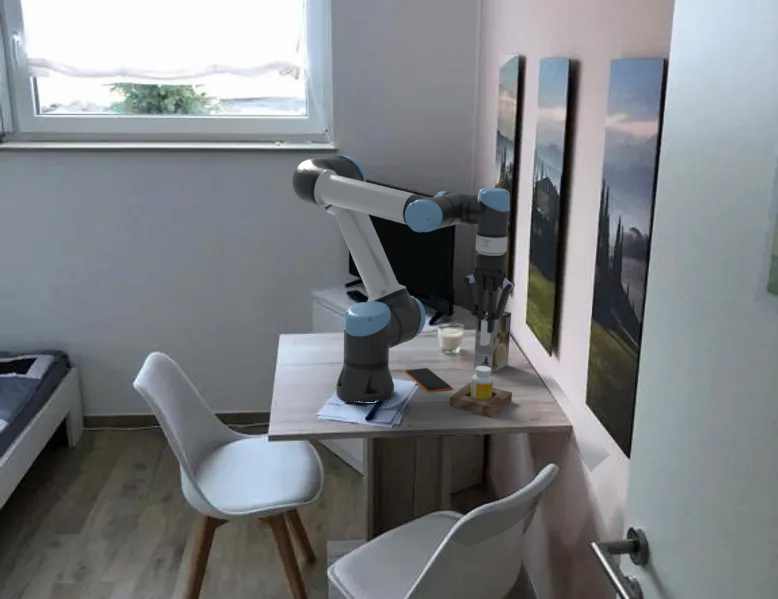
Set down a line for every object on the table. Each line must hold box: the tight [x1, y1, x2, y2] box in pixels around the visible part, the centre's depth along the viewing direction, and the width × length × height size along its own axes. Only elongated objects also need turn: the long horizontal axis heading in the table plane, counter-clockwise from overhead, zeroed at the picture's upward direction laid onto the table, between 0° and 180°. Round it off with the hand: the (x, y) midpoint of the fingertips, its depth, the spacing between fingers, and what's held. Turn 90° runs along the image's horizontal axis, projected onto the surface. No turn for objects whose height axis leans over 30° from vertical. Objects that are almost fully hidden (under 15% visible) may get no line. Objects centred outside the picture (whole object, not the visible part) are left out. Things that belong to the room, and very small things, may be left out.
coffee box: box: [473, 310, 512, 374], centre depth 241 cm, size 9×6×16 cm
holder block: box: [448, 382, 513, 417], centre depth 216 cm, size 12×12×2 cm
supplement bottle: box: [470, 366, 494, 401], centre depth 215 cm, size 5×5×10 cm
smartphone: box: [403, 367, 454, 393], centre depth 232 cm, size 8×17×1 cm, turn 22°
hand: (484, 344), depth 212 cm, fingers closed
